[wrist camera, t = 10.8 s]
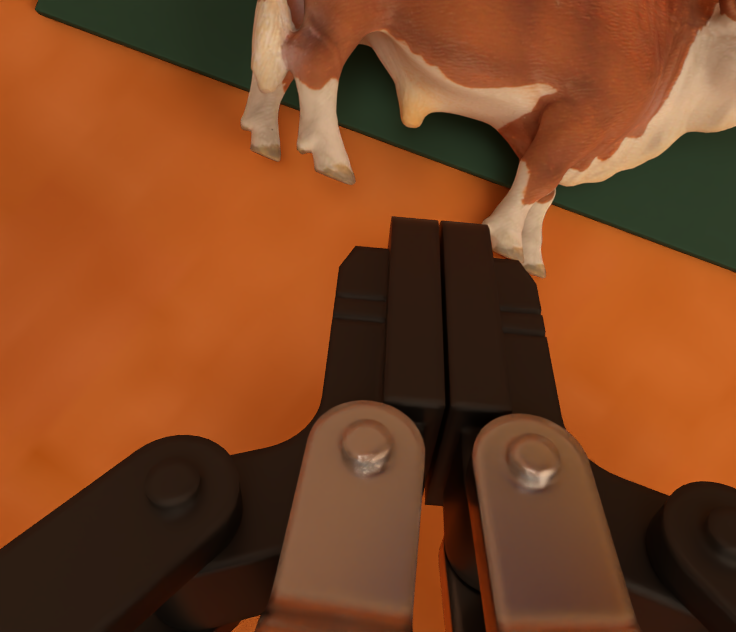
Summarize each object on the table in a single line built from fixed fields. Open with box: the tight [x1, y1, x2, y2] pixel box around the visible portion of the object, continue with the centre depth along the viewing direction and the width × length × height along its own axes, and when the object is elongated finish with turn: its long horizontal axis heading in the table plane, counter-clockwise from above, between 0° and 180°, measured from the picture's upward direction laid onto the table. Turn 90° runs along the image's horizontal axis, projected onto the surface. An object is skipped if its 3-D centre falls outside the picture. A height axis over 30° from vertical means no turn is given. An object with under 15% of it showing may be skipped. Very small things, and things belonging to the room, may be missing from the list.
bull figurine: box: [241, 0, 736, 278], centre depth 15 cm, size 4×13×8 cm
